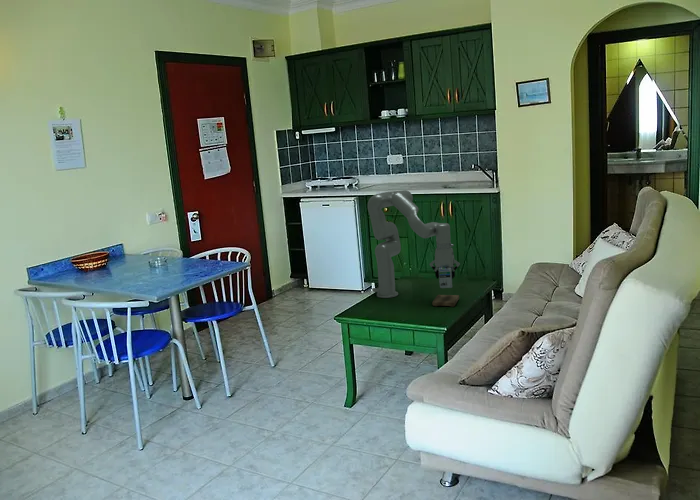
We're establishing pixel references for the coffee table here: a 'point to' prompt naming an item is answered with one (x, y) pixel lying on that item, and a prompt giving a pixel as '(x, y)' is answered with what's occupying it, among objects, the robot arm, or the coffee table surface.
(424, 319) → the coffee table surface
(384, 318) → the coffee table surface
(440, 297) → the walnut stand
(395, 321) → the coffee table surface
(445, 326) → the coffee table surface
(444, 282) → the light bulb box
